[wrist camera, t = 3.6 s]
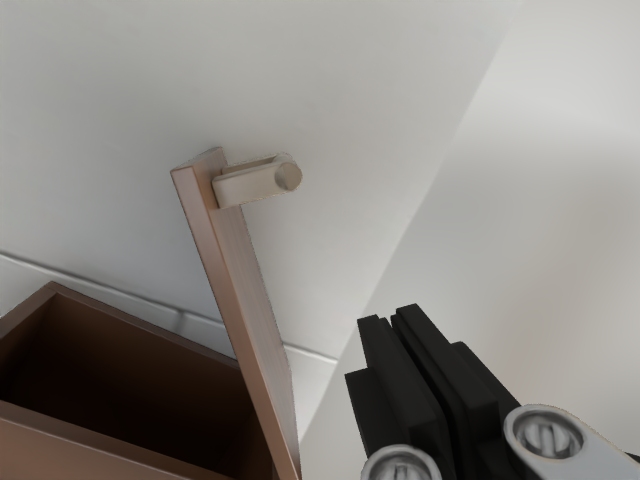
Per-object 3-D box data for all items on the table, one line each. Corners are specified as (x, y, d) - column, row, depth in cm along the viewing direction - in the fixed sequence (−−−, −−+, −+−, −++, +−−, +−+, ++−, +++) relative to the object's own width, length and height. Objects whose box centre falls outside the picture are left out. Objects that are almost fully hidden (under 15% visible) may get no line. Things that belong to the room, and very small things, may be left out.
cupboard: (50, 280, 23) (-93, 387, 14) (280, 379, 27) (288, 511, 18) (-17, 419, 25) (-181, 593, 16) (206, 490, 29) (180, 661, 20)
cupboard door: (284, 131, 22) (297, 139, 13) (341, 357, 27) (378, 473, 18) (208, 150, 22) (168, 171, 13) (279, 374, 27) (287, 501, 18)
